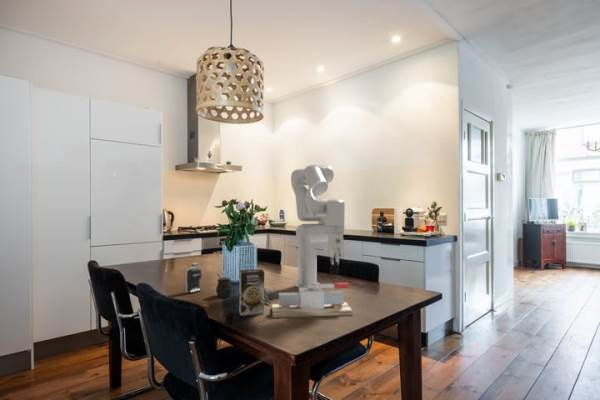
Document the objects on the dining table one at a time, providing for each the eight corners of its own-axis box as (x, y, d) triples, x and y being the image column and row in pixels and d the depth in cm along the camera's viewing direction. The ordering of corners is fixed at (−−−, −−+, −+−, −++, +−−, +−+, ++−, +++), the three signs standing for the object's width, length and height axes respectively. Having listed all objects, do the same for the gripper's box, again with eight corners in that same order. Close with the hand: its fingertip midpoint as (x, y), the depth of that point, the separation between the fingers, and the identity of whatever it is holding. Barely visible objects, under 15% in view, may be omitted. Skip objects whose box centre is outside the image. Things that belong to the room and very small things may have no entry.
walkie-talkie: (244, 296, 160) (268, 306, 144) (244, 287, 160) (268, 296, 144) (261, 293, 165) (285, 303, 149) (261, 284, 165) (285, 292, 149)
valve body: (278, 305, 138) (278, 288, 138) (341, 304, 140) (341, 286, 141) (279, 311, 131) (279, 292, 131) (344, 309, 134) (344, 290, 134)
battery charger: (190, 294, 162) (190, 269, 163) (185, 293, 165) (185, 269, 165) (202, 291, 168) (202, 267, 168) (197, 290, 170) (197, 266, 170)
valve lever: (347, 286, 138) (347, 282, 138) (348, 288, 135) (348, 284, 135) (307, 287, 137) (307, 283, 137) (308, 289, 134) (308, 284, 134)
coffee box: (240, 316, 131) (240, 272, 131) (238, 311, 137) (238, 269, 137) (264, 313, 133) (264, 271, 133) (261, 309, 139) (261, 268, 140)
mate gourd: (227, 298, 155) (226, 276, 155) (212, 297, 157) (211, 275, 158) (235, 294, 162) (234, 272, 162) (220, 293, 164) (220, 272, 164)
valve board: (272, 307, 141) (272, 300, 141) (345, 305, 143) (345, 298, 143) (272, 317, 129) (272, 309, 129) (352, 315, 131) (352, 306, 131)
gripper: (348, 231, 137) (347, 278, 138) (339, 227, 152) (339, 269, 153) (329, 232, 136) (329, 278, 137) (322, 227, 151) (322, 269, 152)
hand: (334, 273), depth 145 cm, fingers closed
